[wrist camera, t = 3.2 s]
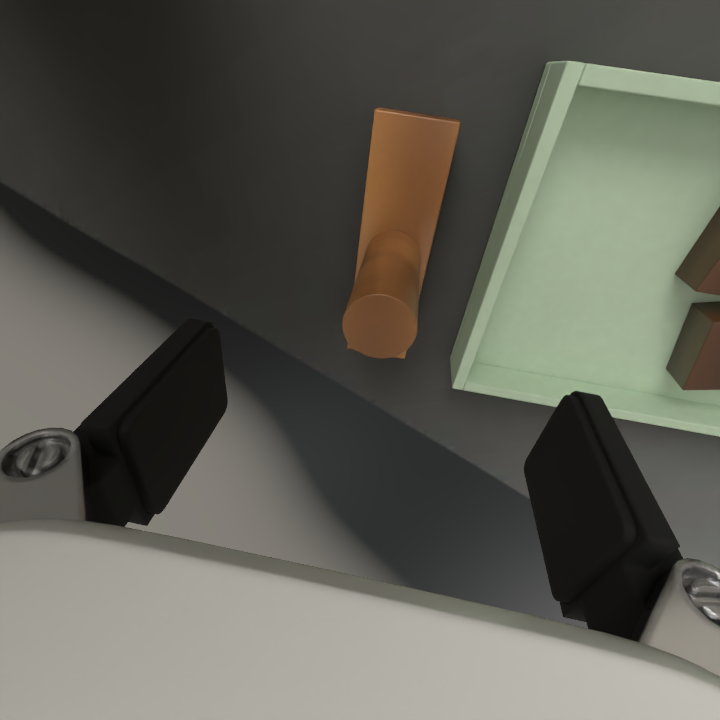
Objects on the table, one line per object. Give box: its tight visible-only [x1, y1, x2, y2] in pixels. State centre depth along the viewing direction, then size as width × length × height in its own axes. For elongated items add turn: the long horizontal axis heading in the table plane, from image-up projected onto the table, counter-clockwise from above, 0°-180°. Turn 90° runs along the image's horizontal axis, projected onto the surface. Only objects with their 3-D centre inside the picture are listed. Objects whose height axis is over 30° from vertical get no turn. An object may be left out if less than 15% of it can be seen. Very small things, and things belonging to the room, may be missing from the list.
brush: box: [342, 107, 461, 359], centre depth 16 cm, size 3×11×8 cm, turn 173°
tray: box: [450, 61, 720, 437], centre depth 17 cm, size 20×14×3 cm
